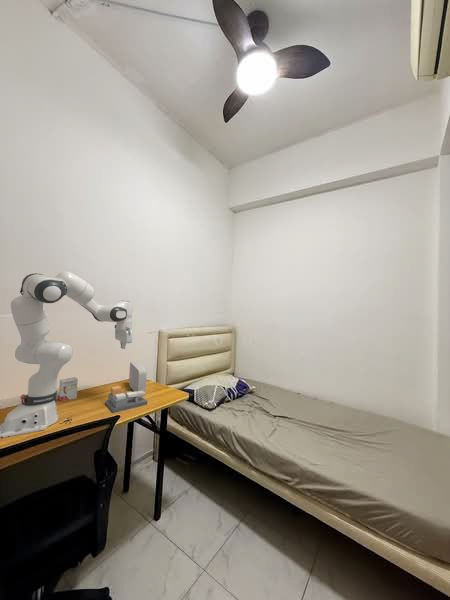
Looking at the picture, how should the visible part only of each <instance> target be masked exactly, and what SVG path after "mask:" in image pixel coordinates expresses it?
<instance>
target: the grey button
mask: <svg viewBox="0 0 450 600" xmlns="http://www.w3.org/2000/svg"><path fill="white" fill-rule="evenodd" d="M125 398H126V393H124V392H121V394H116V395H115V399H116V400H120V399H125Z"/></svg>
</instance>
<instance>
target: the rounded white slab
mask: <svg viewBox="0 0 450 600" xmlns="http://www.w3.org/2000/svg"><path fill="white" fill-rule="evenodd" d="M147 373H148V372H147V368H145V366H143V365H142V364H141V362H139V361H131V362H129V374H128V379H129V380H128V385H129V387H130V388H131V389H132V390H131V391H132V392H136V391H144V392H145V394H146V390H147V388H146V387H147Z"/></svg>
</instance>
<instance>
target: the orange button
mask: <svg viewBox="0 0 450 600" xmlns="http://www.w3.org/2000/svg"><path fill="white" fill-rule="evenodd" d="M110 393H111V395H112V396H115V395H116V394H121V393H122V386H120V385H115V386H111V387H110Z"/></svg>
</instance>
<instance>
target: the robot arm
mask: <svg viewBox="0 0 450 600" xmlns="http://www.w3.org/2000/svg"><path fill="white" fill-rule="evenodd" d="M19 293H20V294H21V295H20V296H17V297H14V298H13V299H12V300H11V301H10V309H11V310H10V312H11V314H12V318H13V321H14V324H15V325H16V328H17V331H18V333H19V335H20V344H19V345H18V346H17V347H16V348H15V351H14V357H15V359H16V360H17V361H18V362H21V363H24V364H28V365H39V367H38V371H37V372H35V373H34V374H32V375H31V376H30V377H29V378H28V381H27V382H28V383H27V394H21V395H20V398H19V399H20V400H21V401H20V402H21V403H20V404H19V405H18V406H17V407H15V408H14V409H12V410H11V411H9V413H8V414H7V415H6V416H5V419H4V421H3V422H2V423H1V424H0V438H1V437H3V438H7V437H8V436H9V437H14V436H18V435H24V434H29V433H35V432H39V431H44V430H46V429H48V427H50V426H52V425H54V424H55V423H56V422H58V421H59V415H58V409H57V402H58V390H57V385H58V376H59V374H60V371H61V370H62V368H63V367H64V366H65V365H66V364H67V363H68V362H70V361H71V359H72V357H73V354H74V351H73V348H72V346H71V345H70V344H67V343H63V342H59V341H47V340H46V339H45V337H46V336H48V335H49V333H50V331H51V326H50V323H49V320H48V319H47V316H46V313H45V311H44V304H54V303H57V302H58V301H60V300H62V298H63V297H64V296H66V297H68V298H69V299H71V300H72V301H74V302H76V303H77V304H79V305H80V306H81V307H83V308H84V309H85V310H87V312H89V313H90V314H91V315H92V317H93V318H94V319H95V320H96V321H97V322H109V323H115V324H114V330H115V331H114V333H115V334H114V338H115V340H117V341H119V343H120V349H122V350H125V349H126V346H127V344H132V343H133V331H132V327H133V326H132V325H133V321H132V317H133V304H132V302H130V301H128V300H119V301H118V302H117V303H116V304H113V305H105V304H99V303H98V302H96V301H95V300H94V299H93V298H94V296H95V288H94V287H93V286H92V285H91V284H90V283H88V281H86V280H84V279H83V278H81V276H78V275H77V274H74V273H73V272H70V271H69V270H67V271H66V270H65V271H64V270H63V271H61V272H59V273H58V274H57V275H56V276H54V277H49V276H47V275H44V274H41V273H36V272H35V273H30V274H27V275H26V276H25V277H23V279H22V283H21V287H20V290H19Z"/></svg>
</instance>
